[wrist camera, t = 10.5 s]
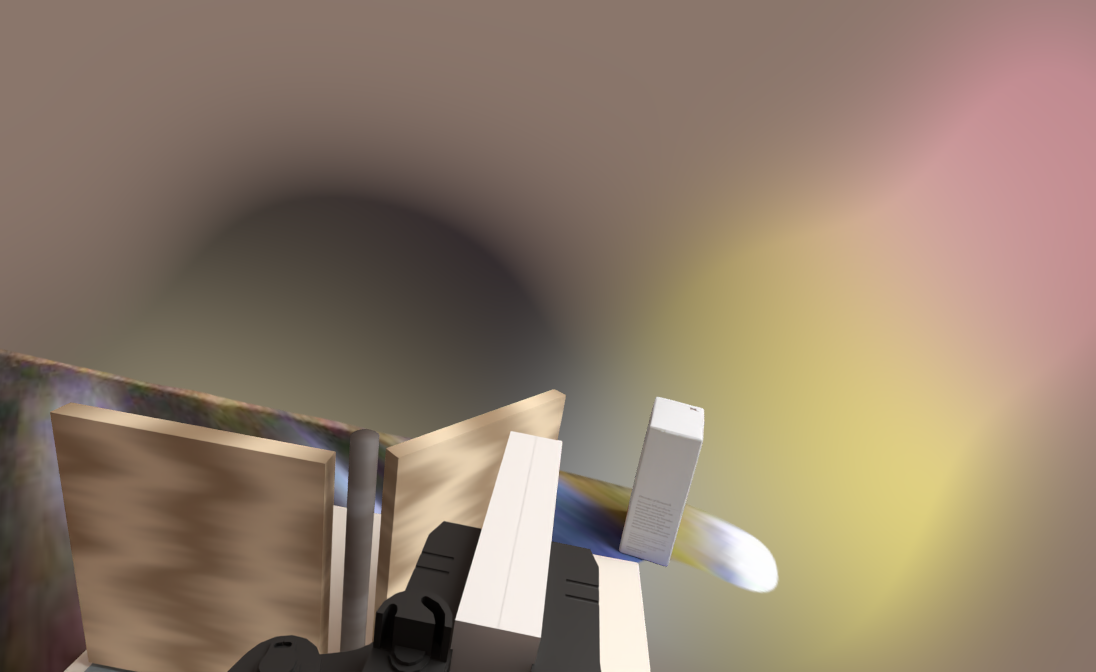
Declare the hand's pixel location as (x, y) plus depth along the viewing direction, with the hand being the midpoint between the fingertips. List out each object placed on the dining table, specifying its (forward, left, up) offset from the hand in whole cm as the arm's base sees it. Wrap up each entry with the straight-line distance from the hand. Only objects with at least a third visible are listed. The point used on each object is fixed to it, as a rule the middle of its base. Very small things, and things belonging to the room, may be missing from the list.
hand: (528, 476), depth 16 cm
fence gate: (-3, +13, -20) cm, 24 cm away
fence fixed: (-14, +7, -21) cm, 26 cm away
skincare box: (+11, +26, -21) cm, 35 cm away
